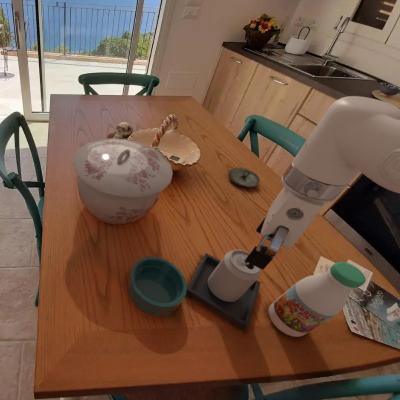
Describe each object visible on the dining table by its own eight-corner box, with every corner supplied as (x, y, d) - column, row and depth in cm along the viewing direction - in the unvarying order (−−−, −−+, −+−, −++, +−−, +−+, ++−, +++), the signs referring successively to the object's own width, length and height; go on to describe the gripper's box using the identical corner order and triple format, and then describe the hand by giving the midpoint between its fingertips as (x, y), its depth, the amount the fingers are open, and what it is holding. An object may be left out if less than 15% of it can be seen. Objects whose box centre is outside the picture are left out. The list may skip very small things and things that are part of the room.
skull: (127, 149, 109) (115, 126, 106) (110, 155, 117) (99, 134, 115) (142, 138, 115) (132, 116, 113) (125, 145, 124) (115, 124, 121)
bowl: (187, 287, 65) (194, 276, 62) (166, 329, 58) (173, 319, 54) (142, 259, 71) (146, 248, 67) (117, 294, 63) (120, 283, 60)
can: (240, 308, 62) (267, 281, 53) (206, 297, 63) (228, 269, 55) (237, 280, 67) (262, 252, 59) (206, 271, 68) (226, 242, 60)
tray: (256, 286, 67) (260, 282, 65) (243, 330, 59) (247, 326, 57) (202, 257, 72) (205, 252, 71) (184, 293, 64) (187, 289, 63)
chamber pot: (70, 240, 74) (74, 181, 60) (70, 178, 94) (72, 124, 80) (169, 241, 76) (195, 185, 62) (148, 180, 96) (164, 127, 82)
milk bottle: (268, 297, 65) (323, 247, 51) (304, 314, 62) (373, 266, 48) (266, 325, 60) (327, 277, 46) (305, 345, 57) (383, 300, 43)
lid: (250, 178, 103) (254, 165, 101) (263, 189, 94) (269, 176, 92) (222, 176, 104) (226, 164, 101) (233, 187, 95) (237, 174, 93)
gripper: (341, 221, 35) (272, 290, 46) (342, 165, 46) (286, 232, 57) (277, 197, 38) (228, 266, 50) (292, 150, 49) (248, 216, 60)
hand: (259, 248), depth 53 cm, fingers open, 9 cm apart
